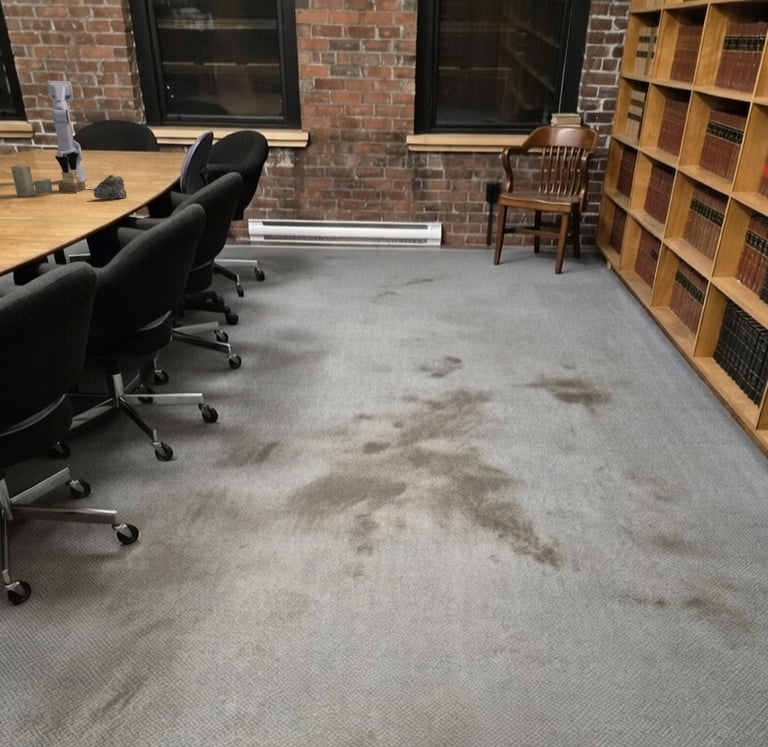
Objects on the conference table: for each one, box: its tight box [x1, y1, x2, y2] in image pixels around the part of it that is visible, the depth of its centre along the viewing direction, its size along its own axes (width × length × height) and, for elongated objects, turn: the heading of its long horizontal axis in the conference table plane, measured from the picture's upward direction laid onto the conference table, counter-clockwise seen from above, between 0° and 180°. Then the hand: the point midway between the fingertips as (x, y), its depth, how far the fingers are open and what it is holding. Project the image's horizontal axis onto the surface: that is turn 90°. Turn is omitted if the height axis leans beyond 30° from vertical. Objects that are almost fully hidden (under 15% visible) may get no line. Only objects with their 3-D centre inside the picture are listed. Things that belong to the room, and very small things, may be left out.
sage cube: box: [33, 178, 53, 193], centre depth 291 cm, size 5×5×5 cm
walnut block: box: [57, 181, 87, 194], centre depth 295 cm, size 8×8×4 cm
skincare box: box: [10, 164, 36, 197], centre depth 281 cm, size 6×4×12 cm
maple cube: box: [61, 170, 80, 184], centre depth 293 cm, size 5×5×5 cm
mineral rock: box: [92, 174, 127, 200], centre depth 284 cm, size 13×11×10 cm
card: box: [85, 184, 97, 190], centre depth 304 cm, size 10×7×1 cm
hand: (69, 171), depth 292 cm, fingers open, 7 cm apart
